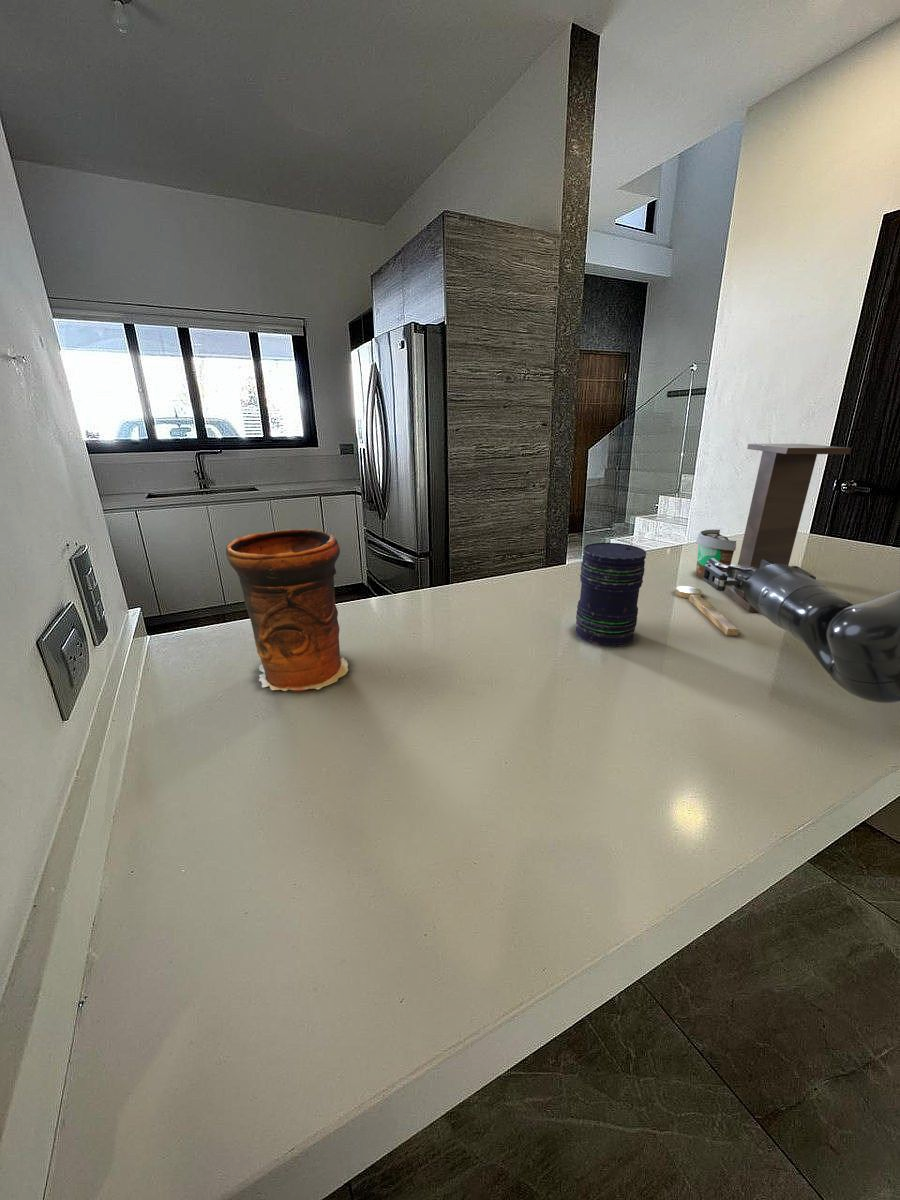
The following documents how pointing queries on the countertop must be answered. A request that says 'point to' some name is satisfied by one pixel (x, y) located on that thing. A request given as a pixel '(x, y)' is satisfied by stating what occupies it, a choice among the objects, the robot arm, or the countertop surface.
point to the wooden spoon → (707, 609)
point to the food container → (713, 549)
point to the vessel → (291, 605)
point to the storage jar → (609, 593)
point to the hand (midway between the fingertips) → (736, 564)
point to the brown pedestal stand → (777, 505)
